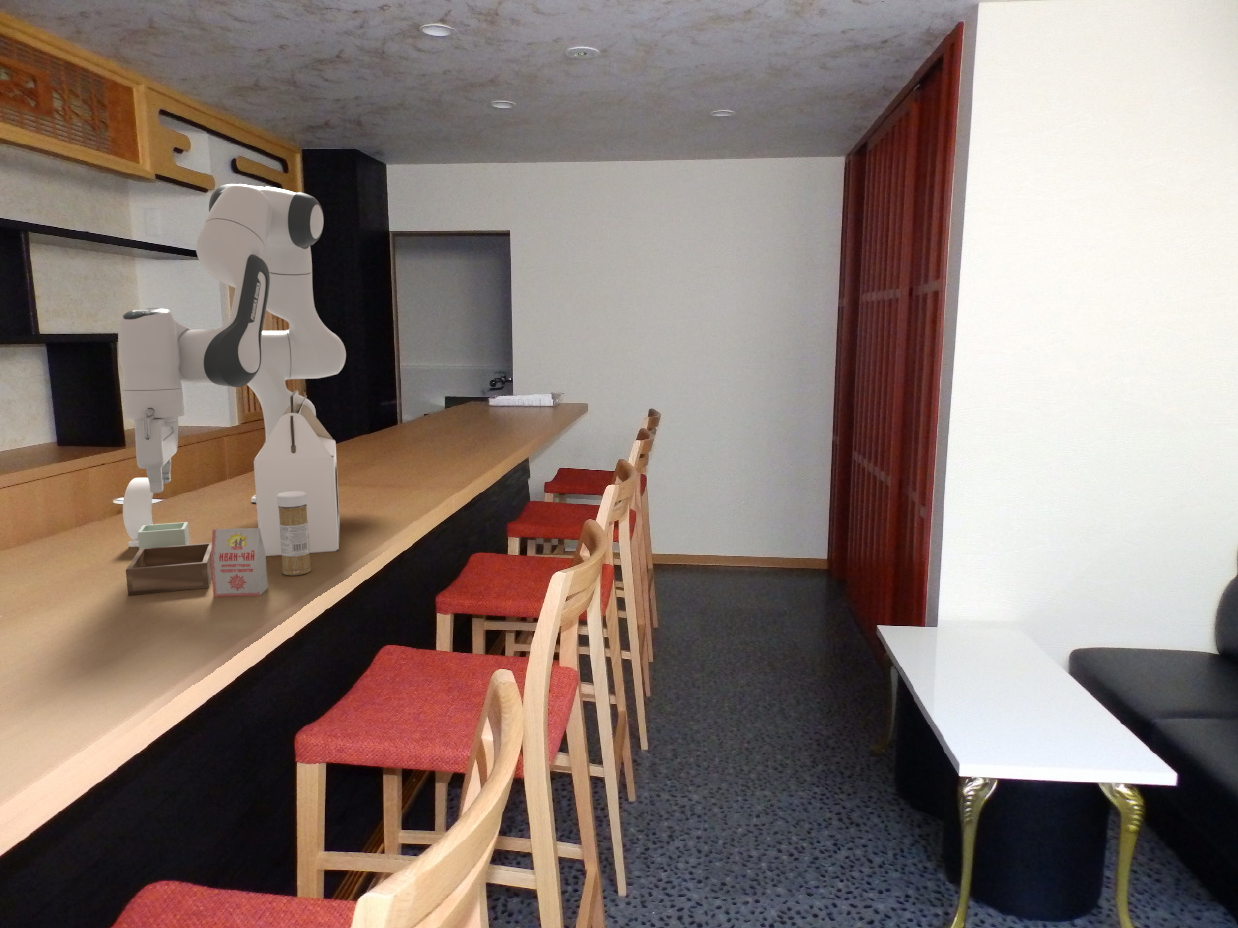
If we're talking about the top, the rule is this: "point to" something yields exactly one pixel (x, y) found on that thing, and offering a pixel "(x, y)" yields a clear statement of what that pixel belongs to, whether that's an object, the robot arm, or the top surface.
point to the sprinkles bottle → (294, 532)
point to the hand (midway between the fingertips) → (161, 487)
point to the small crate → (163, 535)
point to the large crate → (170, 569)
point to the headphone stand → (137, 508)
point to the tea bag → (238, 562)
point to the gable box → (298, 478)
